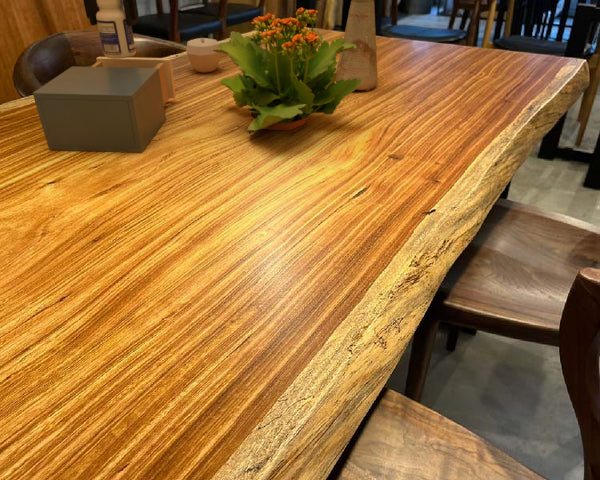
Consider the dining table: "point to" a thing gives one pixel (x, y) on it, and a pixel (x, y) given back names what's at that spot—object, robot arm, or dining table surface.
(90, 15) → the robot arm
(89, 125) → the dark grey box
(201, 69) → the lidded pot
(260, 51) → the potted flower
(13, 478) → the dining table surface
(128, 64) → the drawer
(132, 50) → the pill bottle
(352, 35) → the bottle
